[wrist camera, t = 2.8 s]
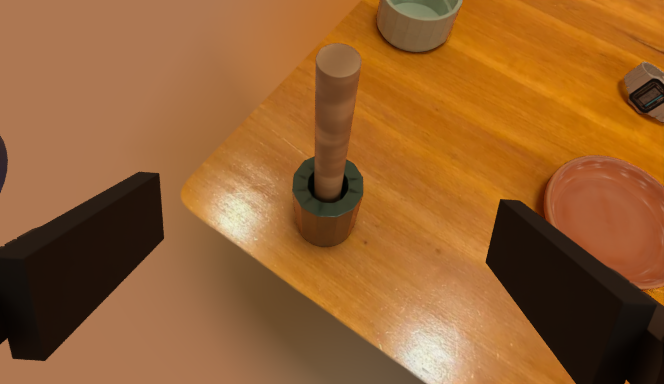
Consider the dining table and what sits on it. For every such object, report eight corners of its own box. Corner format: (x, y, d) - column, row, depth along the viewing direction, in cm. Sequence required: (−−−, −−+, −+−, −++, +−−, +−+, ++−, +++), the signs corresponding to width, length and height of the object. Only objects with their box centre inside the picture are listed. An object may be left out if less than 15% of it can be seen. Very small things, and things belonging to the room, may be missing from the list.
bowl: (362, 34, 57) (367, -2, 52) (396, -7, 61) (404, -44, 56) (429, 65, 55) (442, 32, 49) (459, 21, 59) (474, -15, 54)
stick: (309, 221, 43) (307, 64, 21) (321, 203, 44) (331, 36, 22) (329, 232, 42) (346, 84, 21) (340, 214, 43) (369, 55, 22)
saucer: (697, 285, 42) (724, 279, 40) (564, 302, 41) (582, 297, 38) (631, 162, 49) (649, 149, 47) (515, 172, 48) (527, 160, 45)
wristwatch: (607, 86, 55) (634, 61, 50) (636, 71, 56) (664, 45, 52) (658, 133, 51) (692, 110, 47) (688, 115, 53) (722, 91, 49)
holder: (285, 227, 43) (278, 193, 35) (316, 184, 46) (317, 142, 38) (334, 258, 42) (340, 229, 34) (364, 211, 44) (375, 175, 36)
